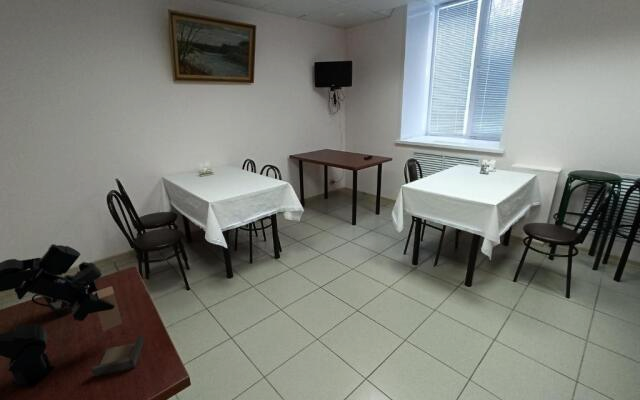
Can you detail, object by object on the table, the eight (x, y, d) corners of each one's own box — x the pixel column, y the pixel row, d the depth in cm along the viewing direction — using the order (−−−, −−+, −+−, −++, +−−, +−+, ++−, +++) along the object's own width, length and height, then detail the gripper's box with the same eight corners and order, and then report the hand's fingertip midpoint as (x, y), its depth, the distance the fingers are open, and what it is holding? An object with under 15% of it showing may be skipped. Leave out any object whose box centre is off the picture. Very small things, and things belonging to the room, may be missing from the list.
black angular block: (86, 303, 112) (79, 281, 109) (65, 319, 104) (57, 295, 101) (58, 302, 113) (50, 279, 110) (35, 317, 105) (26, 293, 102)
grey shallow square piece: (94, 377, 82) (91, 369, 81) (107, 349, 91) (105, 342, 90) (135, 367, 84) (133, 359, 83) (143, 342, 93) (141, 334, 92)
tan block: (103, 331, 89) (93, 300, 85) (101, 322, 92) (92, 292, 89) (122, 323, 92) (114, 293, 88) (119, 315, 95) (111, 286, 92)
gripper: (77, 274, 75) (135, 293, 86) (73, 249, 89) (124, 268, 99) (45, 314, 73) (109, 329, 83) (46, 281, 86) (101, 298, 97)
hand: (112, 303), depth 91 cm, fingers closed on tan block, 5 cm apart
